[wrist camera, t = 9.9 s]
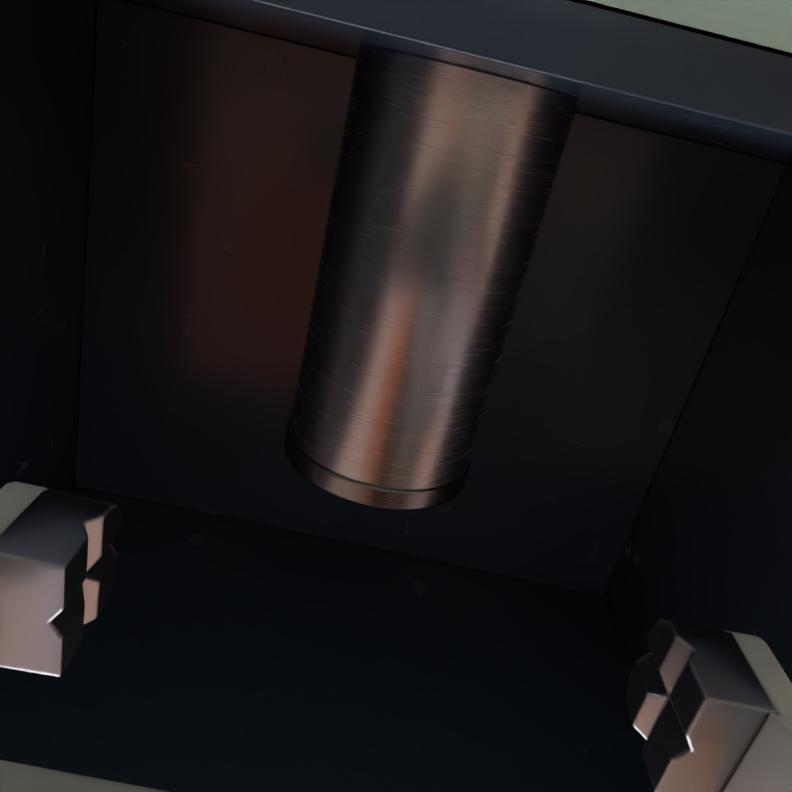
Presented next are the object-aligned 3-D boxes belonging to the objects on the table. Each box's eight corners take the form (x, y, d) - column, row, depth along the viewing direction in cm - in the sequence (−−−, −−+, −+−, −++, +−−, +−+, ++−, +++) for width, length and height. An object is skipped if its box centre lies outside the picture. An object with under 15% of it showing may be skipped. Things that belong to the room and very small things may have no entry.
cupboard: (-493, -274, 11) (-251, 828, 21) (1377, 206, 13) (759, 1008, 23) (81, -43, 29) (61, 488, 40) (813, 140, 31) (610, 603, 41)
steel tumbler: (343, 35, 16) (264, 486, 20) (608, 101, 16) (471, 530, 21) (364, 51, 21) (299, 401, 26) (560, 99, 22) (461, 436, 26)
